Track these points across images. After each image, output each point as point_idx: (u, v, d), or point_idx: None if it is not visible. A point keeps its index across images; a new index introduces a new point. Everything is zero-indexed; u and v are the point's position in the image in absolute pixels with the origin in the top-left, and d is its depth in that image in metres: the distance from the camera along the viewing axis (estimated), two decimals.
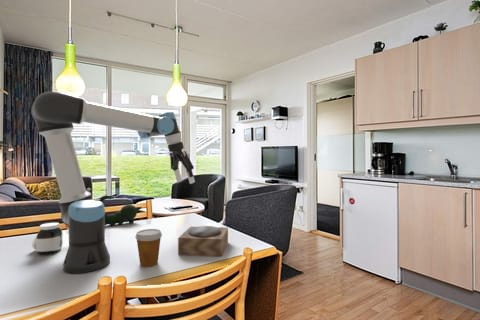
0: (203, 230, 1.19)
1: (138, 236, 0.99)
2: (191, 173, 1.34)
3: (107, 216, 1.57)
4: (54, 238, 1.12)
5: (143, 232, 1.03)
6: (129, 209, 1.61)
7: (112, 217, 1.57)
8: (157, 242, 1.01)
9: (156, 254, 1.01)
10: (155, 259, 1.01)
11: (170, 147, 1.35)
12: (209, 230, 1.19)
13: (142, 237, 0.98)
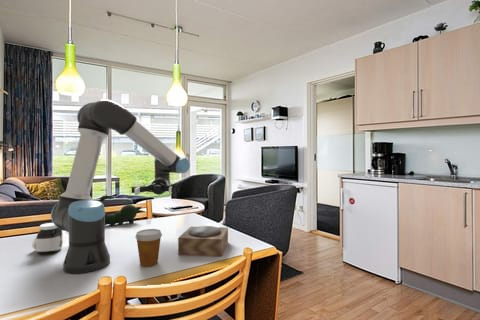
0: (203, 230, 1.19)
1: (138, 236, 0.99)
2: None
3: (107, 216, 1.57)
4: (54, 238, 1.12)
5: (143, 232, 1.03)
6: (129, 209, 1.61)
7: (112, 217, 1.57)
8: (157, 242, 1.01)
9: (156, 254, 1.01)
10: (155, 259, 1.01)
11: (161, 179, 1.32)
12: (209, 230, 1.19)
13: (142, 237, 0.98)
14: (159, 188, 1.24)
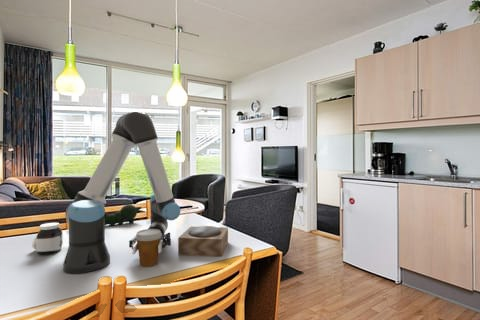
0: (203, 230, 1.19)
1: (138, 236, 0.99)
2: (164, 245, 1.04)
3: (107, 216, 1.57)
4: (54, 238, 1.12)
5: (143, 232, 1.03)
6: (129, 209, 1.61)
7: (112, 217, 1.57)
8: (157, 242, 1.01)
9: (156, 254, 1.01)
10: (155, 259, 1.01)
11: (158, 225, 1.19)
12: (209, 230, 1.19)
13: (142, 237, 0.98)
14: None
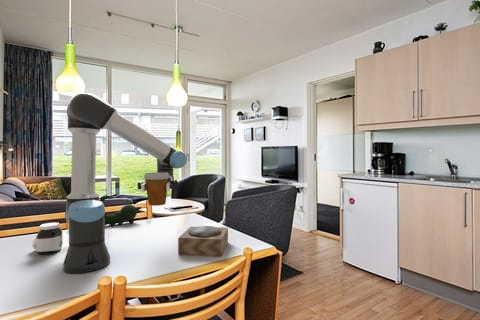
0: (203, 230, 1.19)
1: (146, 175, 1.01)
2: None
3: (107, 216, 1.57)
4: (54, 238, 1.12)
5: None
6: (129, 209, 1.61)
7: (112, 217, 1.57)
8: (165, 182, 1.03)
9: (164, 194, 1.03)
10: (163, 199, 1.03)
11: None
12: (209, 230, 1.19)
13: (150, 176, 1.00)
14: None
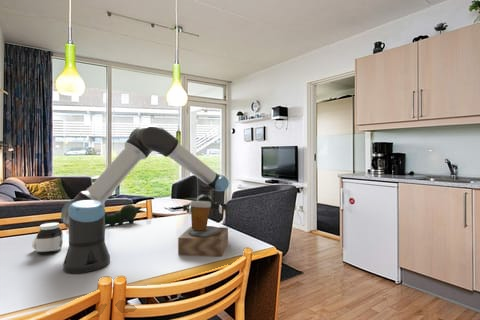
0: (203, 230, 1.19)
1: (193, 203, 1.18)
2: None
3: (107, 216, 1.57)
4: (54, 238, 1.12)
5: None
6: (129, 209, 1.61)
7: (112, 217, 1.57)
8: (208, 210, 1.19)
9: (206, 220, 1.19)
10: (205, 224, 1.19)
11: (207, 196, 1.39)
12: (209, 230, 1.19)
13: (196, 204, 1.17)
14: None
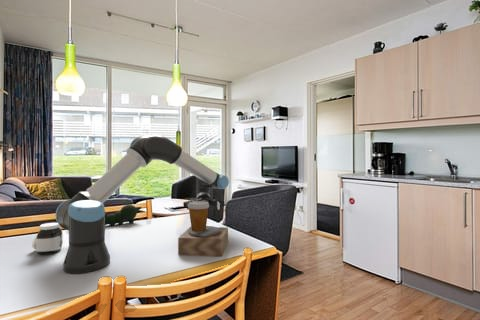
0: None
1: (190, 205, 1.17)
2: (220, 205, 1.34)
3: (107, 216, 1.57)
4: (54, 238, 1.12)
5: (194, 203, 1.21)
6: (129, 209, 1.61)
7: (112, 217, 1.57)
8: (206, 211, 1.18)
9: (205, 221, 1.19)
10: (204, 225, 1.19)
11: (205, 194, 1.48)
12: (209, 230, 1.19)
13: (194, 206, 1.16)
14: None
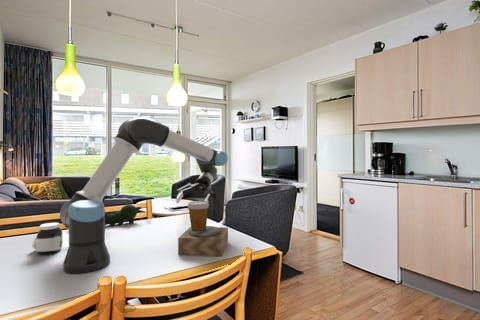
0: None
1: (190, 205, 1.17)
2: None
3: (107, 216, 1.57)
4: (54, 238, 1.12)
5: (193, 203, 1.21)
6: (129, 209, 1.61)
7: (112, 217, 1.57)
8: (206, 211, 1.18)
9: (205, 221, 1.19)
10: (204, 225, 1.19)
11: (205, 177, 1.42)
12: (209, 230, 1.19)
13: (194, 206, 1.16)
14: (201, 190, 1.37)
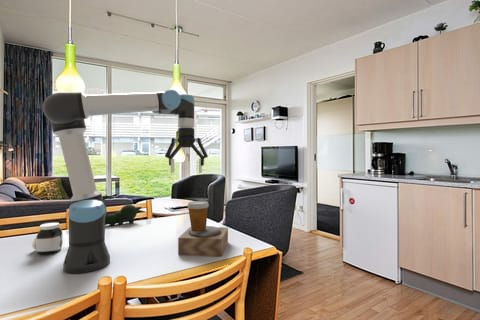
0: (203, 230, 1.19)
1: (190, 205, 1.17)
2: None
3: (107, 216, 1.57)
4: (54, 238, 1.12)
5: (193, 203, 1.21)
6: (129, 209, 1.61)
7: (112, 217, 1.57)
8: (205, 210, 1.19)
9: (205, 221, 1.19)
10: (204, 225, 1.19)
11: (186, 130, 1.26)
12: (209, 230, 1.19)
13: (193, 205, 1.16)
14: (189, 147, 1.29)
